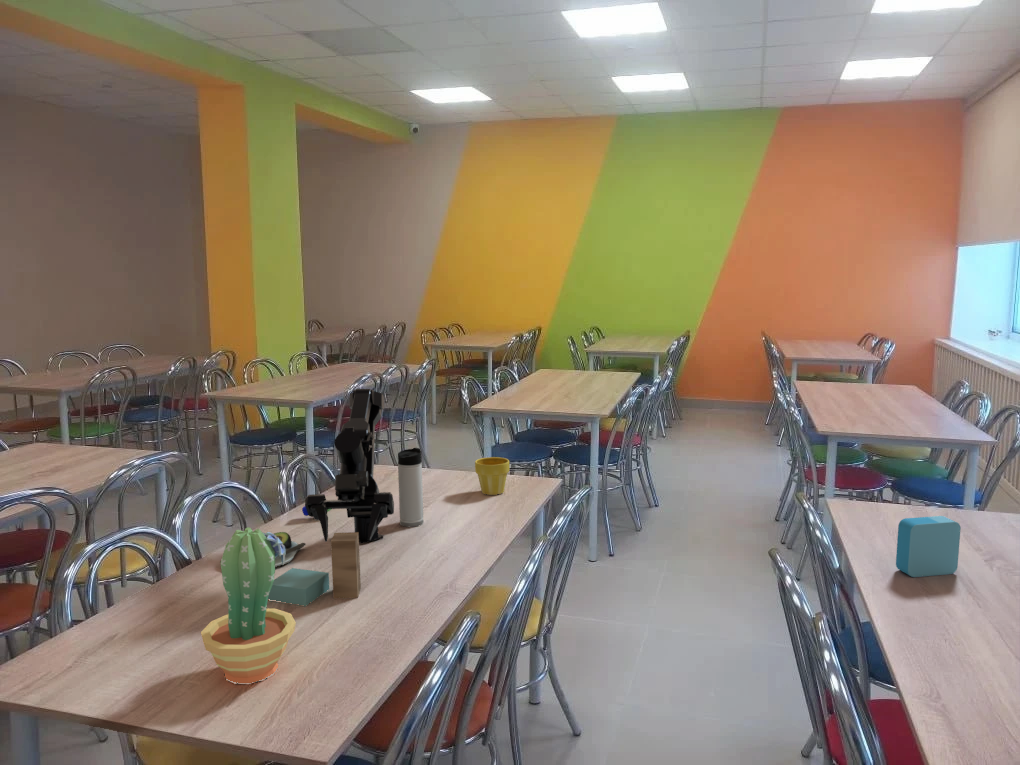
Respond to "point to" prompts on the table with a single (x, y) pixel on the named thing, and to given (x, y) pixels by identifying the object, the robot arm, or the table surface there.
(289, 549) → the salad plate
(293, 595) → the teal base block
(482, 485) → the plant pot
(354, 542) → the walnut block
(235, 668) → the potted cactus
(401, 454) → the travel mug
